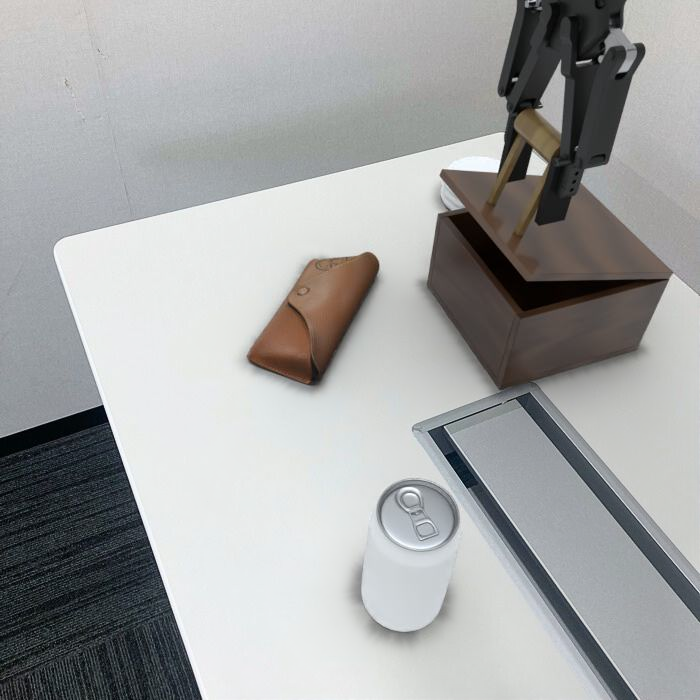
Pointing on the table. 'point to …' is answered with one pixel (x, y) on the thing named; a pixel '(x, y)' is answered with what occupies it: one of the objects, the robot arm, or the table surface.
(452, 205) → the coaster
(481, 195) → the lid
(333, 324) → the sunglasses case
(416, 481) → the can
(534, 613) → the table surface
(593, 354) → the chest
